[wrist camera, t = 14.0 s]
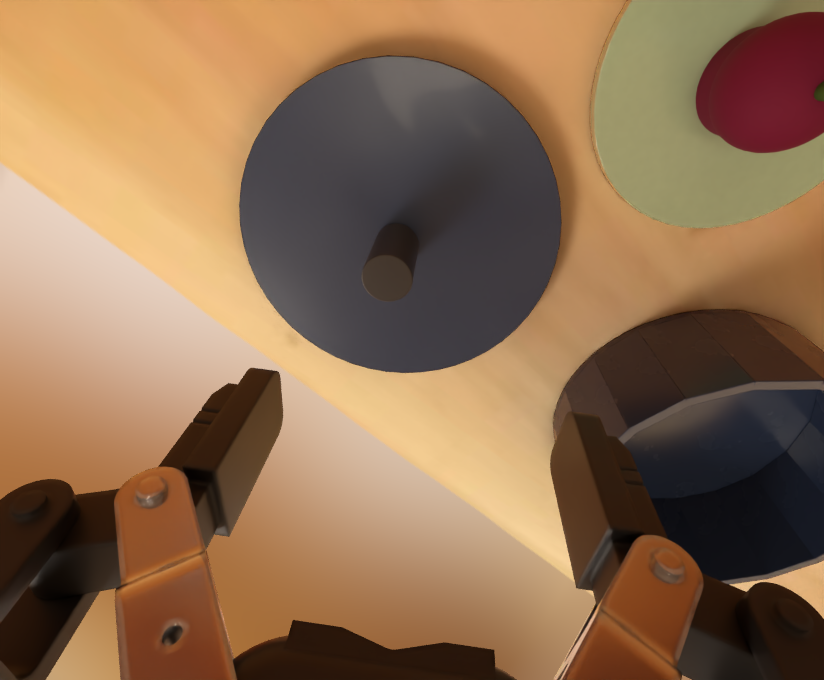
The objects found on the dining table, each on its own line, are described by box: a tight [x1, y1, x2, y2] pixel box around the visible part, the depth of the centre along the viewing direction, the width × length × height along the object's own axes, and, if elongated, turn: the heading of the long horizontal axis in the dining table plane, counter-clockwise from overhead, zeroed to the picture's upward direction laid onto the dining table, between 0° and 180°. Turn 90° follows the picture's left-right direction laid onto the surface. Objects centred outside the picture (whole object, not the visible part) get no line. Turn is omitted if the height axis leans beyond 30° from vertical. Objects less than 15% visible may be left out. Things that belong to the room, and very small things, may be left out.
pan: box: [553, 310, 824, 584], centre depth 30 cm, size 18×18×8 cm
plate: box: [590, 0, 824, 228], centre depth 21 cm, size 14×14×1 cm
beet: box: [696, 12, 824, 153], centre depth 18 cm, size 5×5×7 cm
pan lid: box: [239, 56, 561, 373], centre depth 25 cm, size 19×19×6 cm
